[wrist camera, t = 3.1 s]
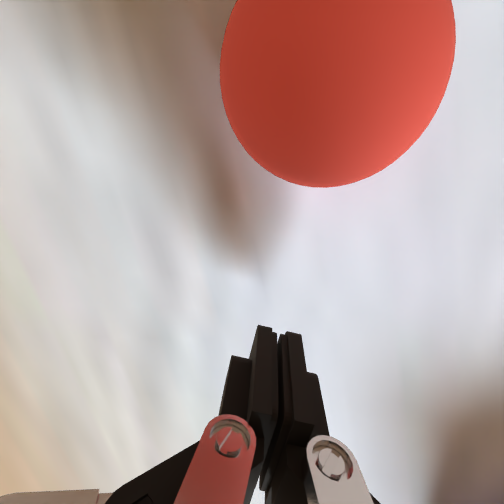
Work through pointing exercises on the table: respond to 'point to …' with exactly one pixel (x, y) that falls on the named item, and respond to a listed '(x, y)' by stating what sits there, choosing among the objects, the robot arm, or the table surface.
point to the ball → (334, 82)
